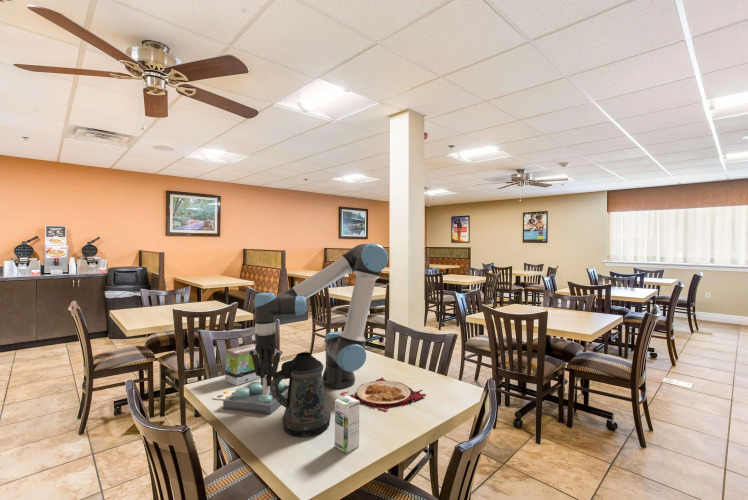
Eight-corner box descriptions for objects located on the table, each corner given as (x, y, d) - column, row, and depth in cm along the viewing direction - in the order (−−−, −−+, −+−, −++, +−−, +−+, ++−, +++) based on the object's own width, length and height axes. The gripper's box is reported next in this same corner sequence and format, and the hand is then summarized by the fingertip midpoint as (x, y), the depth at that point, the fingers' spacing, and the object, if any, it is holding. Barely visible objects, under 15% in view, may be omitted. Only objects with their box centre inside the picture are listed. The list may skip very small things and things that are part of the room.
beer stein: (340, 421, 127) (340, 351, 127) (303, 447, 110) (302, 366, 110) (304, 410, 136) (304, 344, 135) (265, 433, 119) (265, 358, 119)
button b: (274, 401, 140) (274, 395, 140) (268, 407, 135) (268, 400, 135) (263, 400, 142) (263, 394, 142) (256, 405, 137) (256, 399, 137)
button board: (294, 393, 152) (294, 385, 152) (270, 414, 132) (270, 405, 132) (252, 389, 157) (252, 381, 157) (223, 408, 137) (223, 400, 137)
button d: (251, 394, 143) (251, 388, 143) (244, 399, 138) (244, 393, 138) (240, 393, 144) (240, 387, 144) (233, 398, 139) (233, 391, 139)
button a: (286, 387, 150) (286, 381, 150) (280, 391, 145) (280, 385, 145) (275, 386, 151) (275, 380, 151) (269, 390, 146) (269, 384, 146)
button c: (265, 389, 152) (265, 383, 152) (258, 394, 148) (258, 388, 148) (254, 388, 154) (254, 382, 154) (247, 393, 149) (247, 387, 149)
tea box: (237, 386, 160) (236, 353, 160) (224, 381, 166) (224, 349, 166) (265, 376, 172) (265, 346, 172) (253, 372, 178) (253, 342, 178)
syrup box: (333, 446, 111) (333, 399, 111) (348, 439, 115) (348, 394, 115) (345, 454, 107) (345, 405, 107) (360, 446, 111) (360, 399, 111)
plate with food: (382, 381, 168) (381, 374, 168) (426, 397, 148) (426, 389, 148) (339, 397, 151) (339, 388, 151) (383, 417, 131) (383, 407, 131)
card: (241, 393, 152) (241, 391, 152) (230, 400, 144) (230, 399, 144) (225, 391, 154) (225, 389, 154) (212, 398, 146) (212, 397, 146)
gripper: (285, 331, 141) (286, 391, 141) (255, 330, 144) (256, 388, 144) (276, 336, 133) (277, 399, 133) (244, 334, 136) (245, 396, 136)
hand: (266, 393), depth 139 cm, fingers closed
